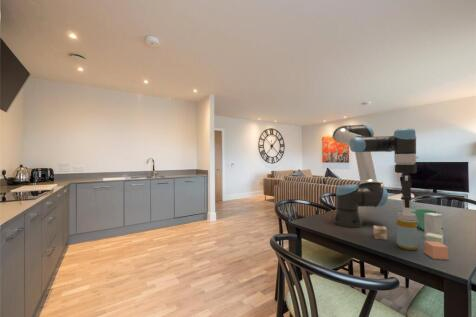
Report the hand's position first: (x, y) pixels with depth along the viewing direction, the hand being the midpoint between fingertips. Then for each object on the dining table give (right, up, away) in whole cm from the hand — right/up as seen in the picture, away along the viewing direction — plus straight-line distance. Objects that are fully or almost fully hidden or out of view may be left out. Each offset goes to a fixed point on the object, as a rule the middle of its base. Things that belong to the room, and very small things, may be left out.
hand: (406, 212), depth 92 cm
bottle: (0, -16, 0) cm, 16 cm away
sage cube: (+13, -16, +1) cm, 20 cm away
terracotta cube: (+5, -16, -8) cm, 19 cm away
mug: (+28, -15, +23) cm, 39 cm away
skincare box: (+21, -16, +9) cm, 27 cm away
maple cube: (-4, -16, +12) cm, 20 cm away
